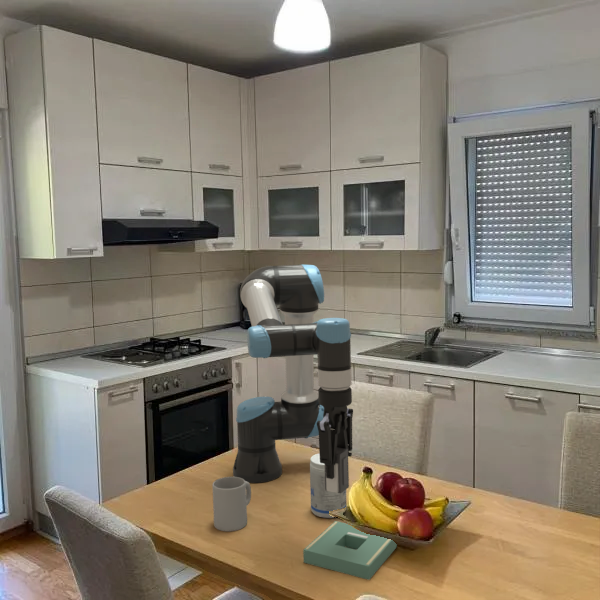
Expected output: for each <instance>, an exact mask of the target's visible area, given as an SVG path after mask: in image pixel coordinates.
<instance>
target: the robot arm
mask: <svg viewBox="0 0 600 600" xmlns="http://www.w3.org/2000/svg"><path fill="white" fill-rule="evenodd" d="M239 297H240V300H241V302H242V304H243V306H244V308H246V309H247V312H248V316H249V321H250V324H251V326H250V327H249V328H248V329H247V333H246V334H247V335H246V337H247V338H246V339H247V341H246V343H247V350H248V351H247V352H248V355H249V356H250V358H253V359H255V358H256V359H257V358H258V359H259V358H263V359H268V358H279V357H281V358H282V357H285V391H284V392H283V393H282V394H281V395H280V401H275V399H274V398H273V397H271V396H257V397H256V396H255V397H252V398H249V399H245V400H244V401H242V402H240V403H239V404H238V405H237V407H236V417H235V421H236V422H237V423H236V426H237V428H236V430H237V431H236V432H237V434H236V435H237V452H236V453H237V454H236V456H235V460H234V464H233V467H232V475H233V476H232V477H239V478H242V479H244V480H245V481H247V482H248V483H249V484H250V483H251V484H257V483H267V482H271V481H274V480H276V479H278V478H280V477H281V475H282V474H283V465H282V462H281V460H280V457H279V454H278V451H277V448H276V441H280V440H282V441H283V440H293V439H294V440H295V439H309V438H314V437H318V449H319V453H320V463H324V464H326V489H327V491H331V492H336V493H338V492H339V486H338V463H336V452H337V447H338V448H344V449H348V457H352V455H353V453H352V451H353V415H354V409H353V408H348V406H350V405H351V404H352V403H353V402H352V400H353V395H352V388H351V386H352V361H351V360H352V359H351V358H352V357H351V355H352V354H351V351H352V350H351V346H352V345H351V338H352V333H351V326H350V325H351V324H350V321H349V320H348V319H347V318H342V317H326V318H325V317H324V318H320V319H318V321H315V322H314V316H315V314H316V313H317V312H318V311H319V305H321V304H323V303H324V301H325V289H324V281H323V278H322V274H321V272H320V270H319V268H318V267H317V266H316V265H313V264H302V263H301V264H284V265H267V266H265V265H264V266H262V267H260V268H257V269H255V270H253V271H252V272H250V273H249V274H248V275H247V276H246V277H245V279H243V282H242V283H241V286H240V290H239ZM277 306H279V311H278V308H277ZM279 312H281V314H282V315H284V324H283V321H282V318H281V317H280V313H279ZM314 355H315V356H317V373H316V374H317V377H318V379H317V381H318V383H317V384H318V386H319V388H318V390H317V391H318V392H317V391H315V388H314V385H315V383H314V380H315V379H314V377H315V376H314V375H315V374H314V371H315V370H314V367H315V366H314V361H315V360H314Z"/></svg>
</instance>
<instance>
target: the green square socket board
mask: <svg viewBox="0 0 600 600" xmlns="http://www.w3.org/2000/svg"><path fill="white" fill-rule="evenodd" d="M348 524H349V523H347V524H346V522H341V521H336V520H334V521H333V523H331V524H330V525H329V526H328V527H327V528H325V530H324V531H322V532H321V533H320V534H319V535H318V536H317V537H316V538H315V539H313V540H312V541H311V542H310V543H309V544H308V545H306V546H305V547H304V548H303V551H302V552H303V553H302V554H303V563H305V564H308V565H312V566H315V567H319V568H323V569H327V570H331V571H334V572H339V573H341V574H346V575H349V576H353V577H357V578H361V579H364V580H368V581H369V580H371V579H372V577H373V576H374V575H375V573H376V572H378V570H379V569H380V567H382V565H384V563H385V562H386V561H387V560H388V558H389V557H390V556H391V554H393V552H394V551H395V549H396V548H397V547H398V546H397V545H398V543H397V544H396V543H395V542H394V541H393V540H391V539H387V538H384V537H380V536H376V535H370V534H366V533H364V532H361V531H359V530H357V529H355V528H353V527H352V526H350V525H348Z"/></svg>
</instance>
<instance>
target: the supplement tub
mask: <svg viewBox="0 0 600 600" xmlns="http://www.w3.org/2000/svg"><path fill="white" fill-rule="evenodd" d="M309 461H310V462H309V476H310V477H309V479H310V481H309V483H310V489H309V490H310V510H311V512H312V514H314V515H315V516H316V517H319V518H322V519H323V518H324V519H334V517H332V516H330V515H329V511H333V510H337V509H342V508H345V507H346V508H347V489H346V490H345V491H343V492H342V493H336V492H331V491H326V490H325V464H324V463H320V453H316V454H313V455H312V456H311V457H310V459H309Z"/></svg>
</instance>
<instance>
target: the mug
mask: <svg viewBox="0 0 600 600" xmlns="http://www.w3.org/2000/svg"><path fill="white" fill-rule="evenodd" d="M211 486H212V504H213V505H212V506H213V509H212V510H213V526H214V528H215V529H217V530H218V531H221V532H235V531H239V530H242V529H244V528H245V527H246V526H247V524H248V510H247V506H249V504H250V502H251V498H252V488H251V484H250V483H248V482H247V481H245V480H244V479H242V478H239V477H234V476H225V477H220V478H218V479H215V480H214V481H213V482H212V485H211Z"/></svg>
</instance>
